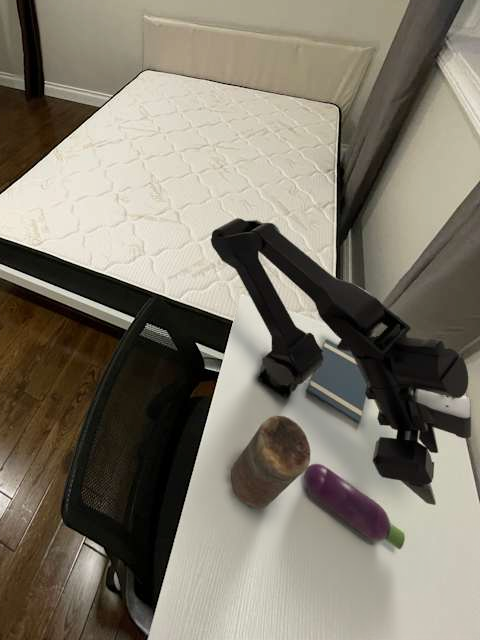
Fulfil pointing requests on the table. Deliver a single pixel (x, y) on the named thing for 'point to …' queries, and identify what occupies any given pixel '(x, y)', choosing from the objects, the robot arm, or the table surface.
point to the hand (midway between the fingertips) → (433, 476)
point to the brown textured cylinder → (270, 461)
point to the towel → (339, 382)
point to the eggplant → (351, 505)
